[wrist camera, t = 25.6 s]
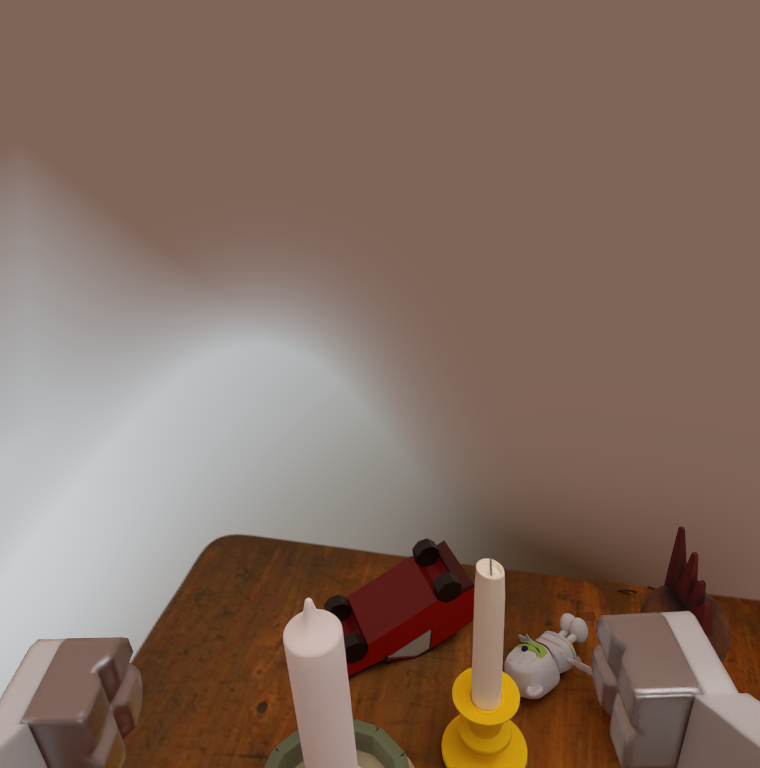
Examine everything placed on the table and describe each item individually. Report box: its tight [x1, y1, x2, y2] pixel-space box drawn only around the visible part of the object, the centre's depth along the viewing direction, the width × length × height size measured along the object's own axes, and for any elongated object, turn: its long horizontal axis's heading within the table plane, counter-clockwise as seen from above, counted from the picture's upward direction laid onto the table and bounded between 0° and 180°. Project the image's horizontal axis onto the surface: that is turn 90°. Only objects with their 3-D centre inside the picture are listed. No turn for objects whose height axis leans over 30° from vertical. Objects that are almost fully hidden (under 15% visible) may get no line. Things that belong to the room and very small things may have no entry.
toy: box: [504, 587, 655, 699], centre depth 47 cm, size 7×3×15 cm
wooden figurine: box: [640, 527, 729, 663], centre depth 38 cm, size 7×6×15 cm
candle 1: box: [283, 598, 361, 768], centre depth 34 cm, size 4×4×16 cm
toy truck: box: [324, 539, 474, 677], centre depth 48 cm, size 6×12×5 cm, turn 109°
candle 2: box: [441, 559, 528, 768], centre depth 37 cm, size 5×5×16 cm
